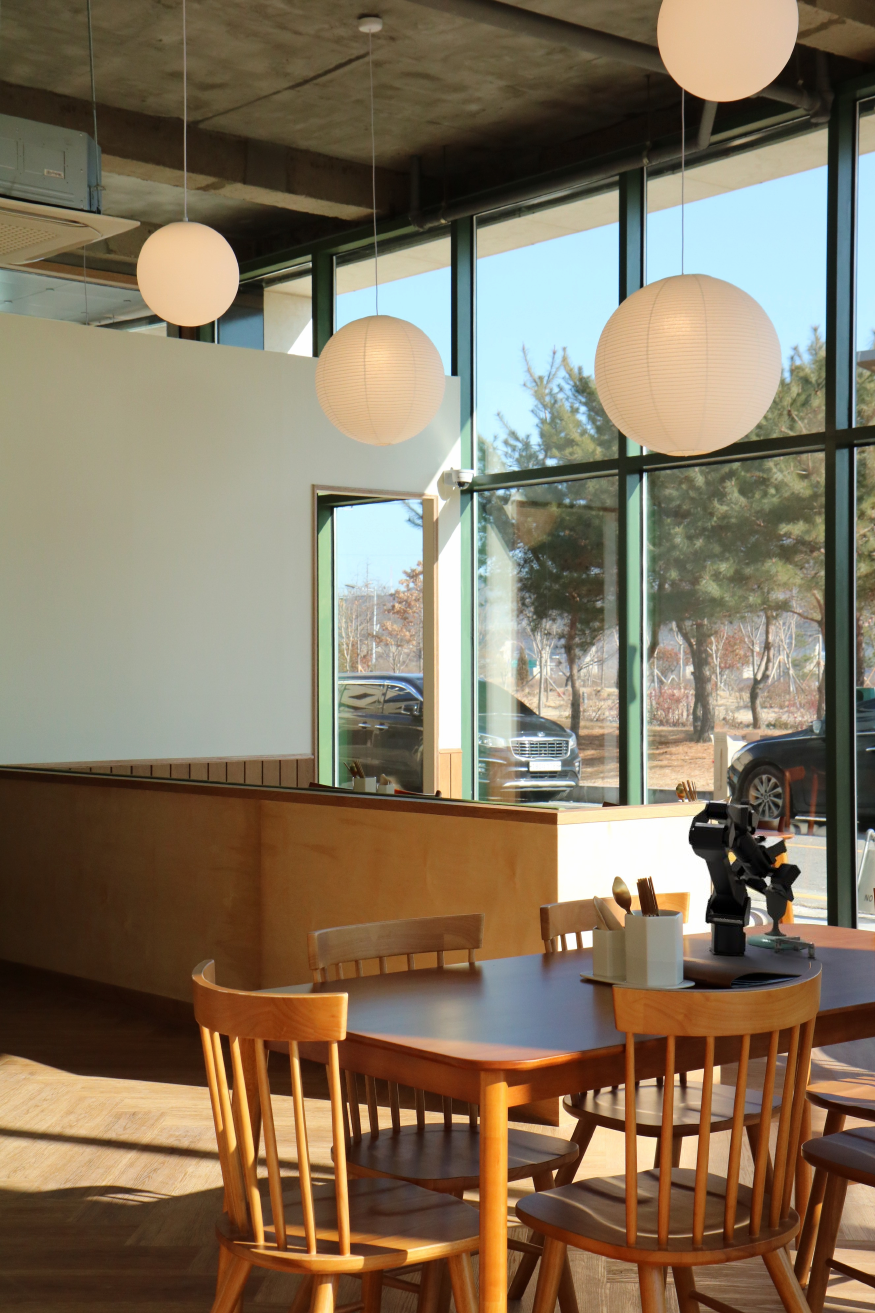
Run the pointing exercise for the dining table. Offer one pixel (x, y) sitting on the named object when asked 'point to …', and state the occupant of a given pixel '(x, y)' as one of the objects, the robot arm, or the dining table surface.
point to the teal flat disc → (767, 941)
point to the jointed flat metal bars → (795, 945)
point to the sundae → (775, 910)
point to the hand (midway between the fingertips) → (781, 898)
